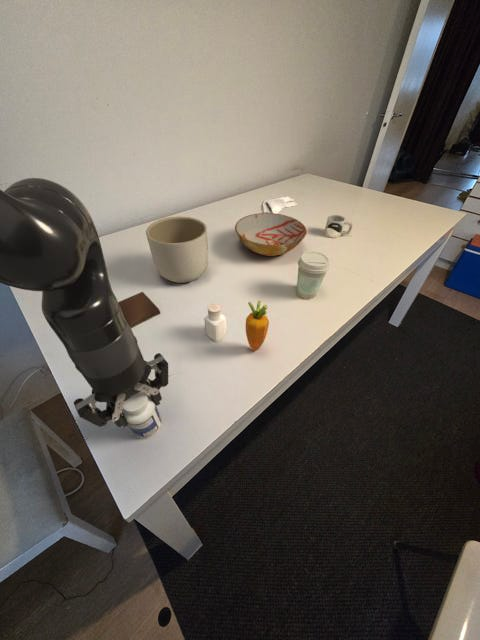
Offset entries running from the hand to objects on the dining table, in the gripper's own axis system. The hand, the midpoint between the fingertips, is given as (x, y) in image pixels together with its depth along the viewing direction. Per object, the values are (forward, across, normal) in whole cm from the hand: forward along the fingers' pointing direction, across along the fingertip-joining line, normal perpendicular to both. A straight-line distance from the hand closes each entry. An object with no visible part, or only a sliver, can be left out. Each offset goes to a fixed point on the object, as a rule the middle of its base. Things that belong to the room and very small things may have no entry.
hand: (140, 411), depth 46 cm
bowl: (+6, -65, -32) cm, 73 cm away
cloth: (+6, -96, -58) cm, 112 cm away
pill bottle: (+6, 0, 0) cm, 6 cm away
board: (+5, -8, -31) cm, 32 cm away
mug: (+6, -94, -22) cm, 97 cm away
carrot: (+6, -28, 0) cm, 29 cm away
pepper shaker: (+6, -24, -10) cm, 27 cm away
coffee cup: (+6, -55, -6) cm, 56 cm away
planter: (+6, -32, -38) cm, 50 cm away
